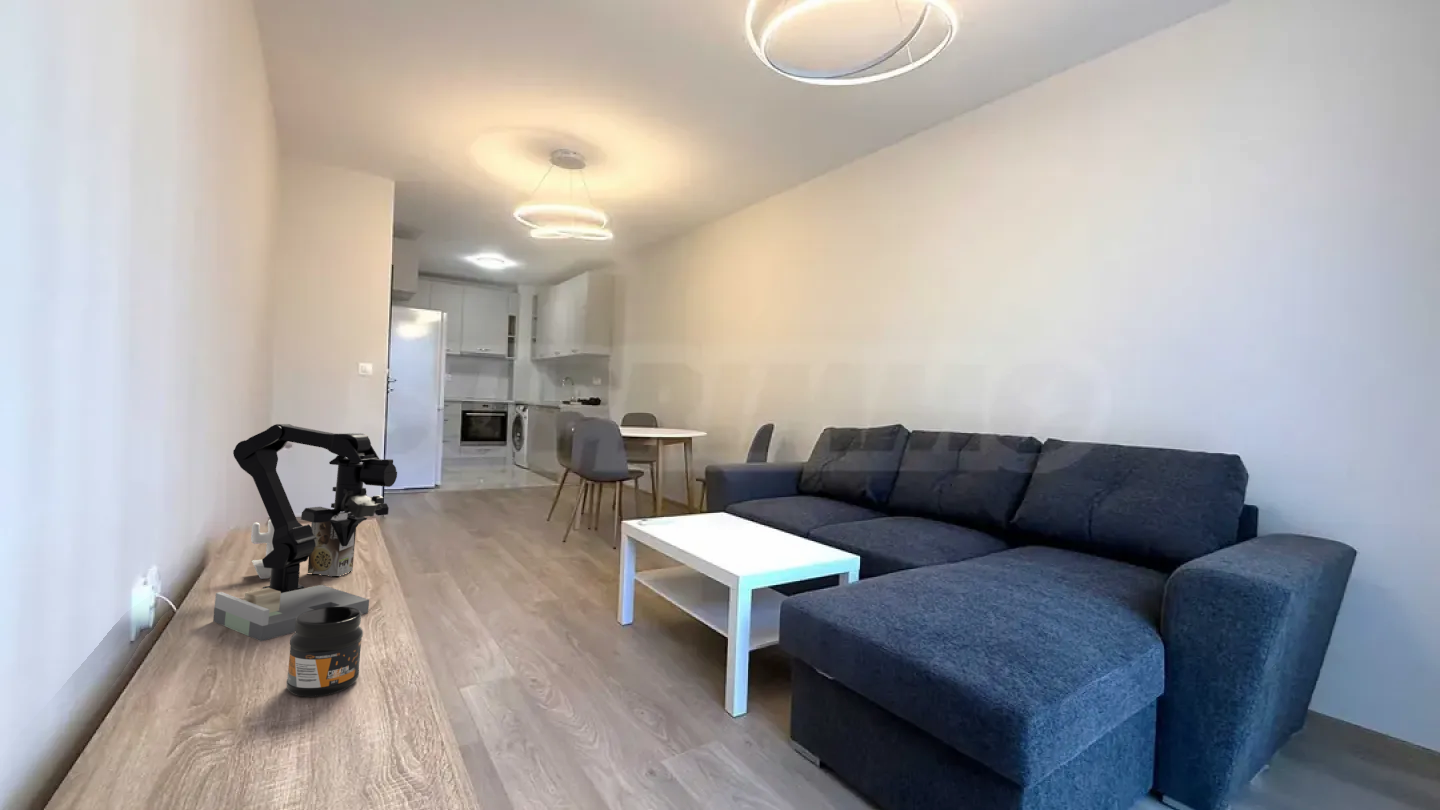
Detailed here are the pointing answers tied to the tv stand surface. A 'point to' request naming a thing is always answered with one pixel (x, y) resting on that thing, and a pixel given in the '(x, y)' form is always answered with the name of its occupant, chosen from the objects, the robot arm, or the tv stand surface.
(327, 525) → the coffee box
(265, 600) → the maple block
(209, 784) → the tv stand surface
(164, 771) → the tv stand surface
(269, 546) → the figurine
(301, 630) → the supplement container
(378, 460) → the robot arm
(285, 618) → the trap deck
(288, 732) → the tv stand surface
